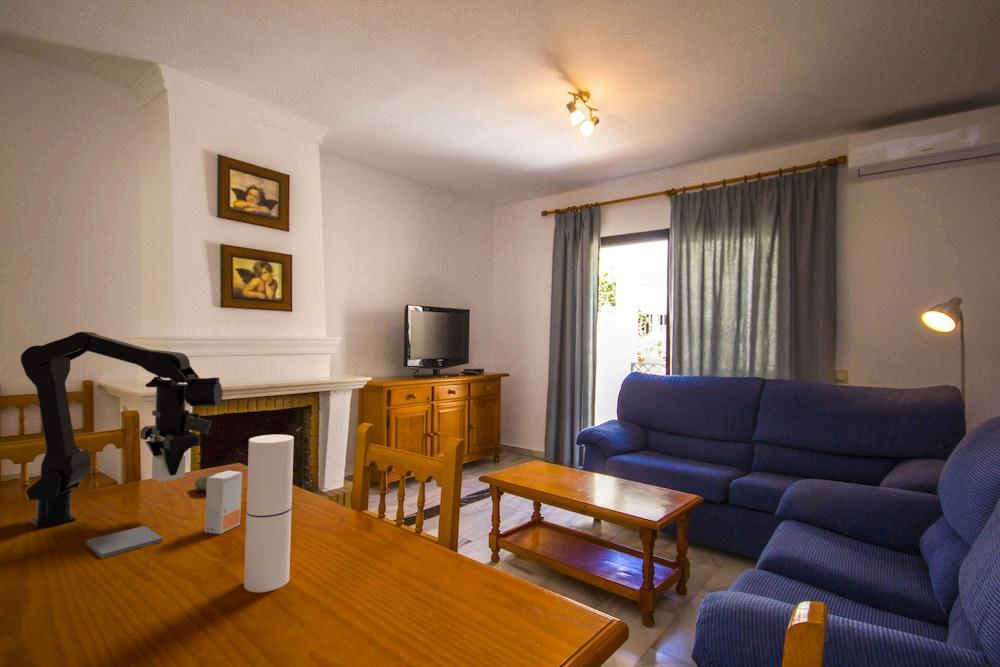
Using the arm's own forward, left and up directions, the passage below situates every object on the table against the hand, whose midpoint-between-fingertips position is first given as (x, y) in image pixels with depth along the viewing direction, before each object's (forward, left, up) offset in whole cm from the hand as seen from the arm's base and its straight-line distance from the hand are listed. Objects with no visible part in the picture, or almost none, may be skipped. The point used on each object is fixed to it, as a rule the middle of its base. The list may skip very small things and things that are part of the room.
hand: (168, 473), depth 115 cm
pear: (-12, +15, -10) cm, 22 cm away
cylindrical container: (+47, -1, -10) cm, 48 cm away
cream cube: (0, 0, -1) cm, 1 cm away
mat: (+10, -11, -10) cm, 18 cm away
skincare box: (+17, +5, -10) cm, 20 cm away
